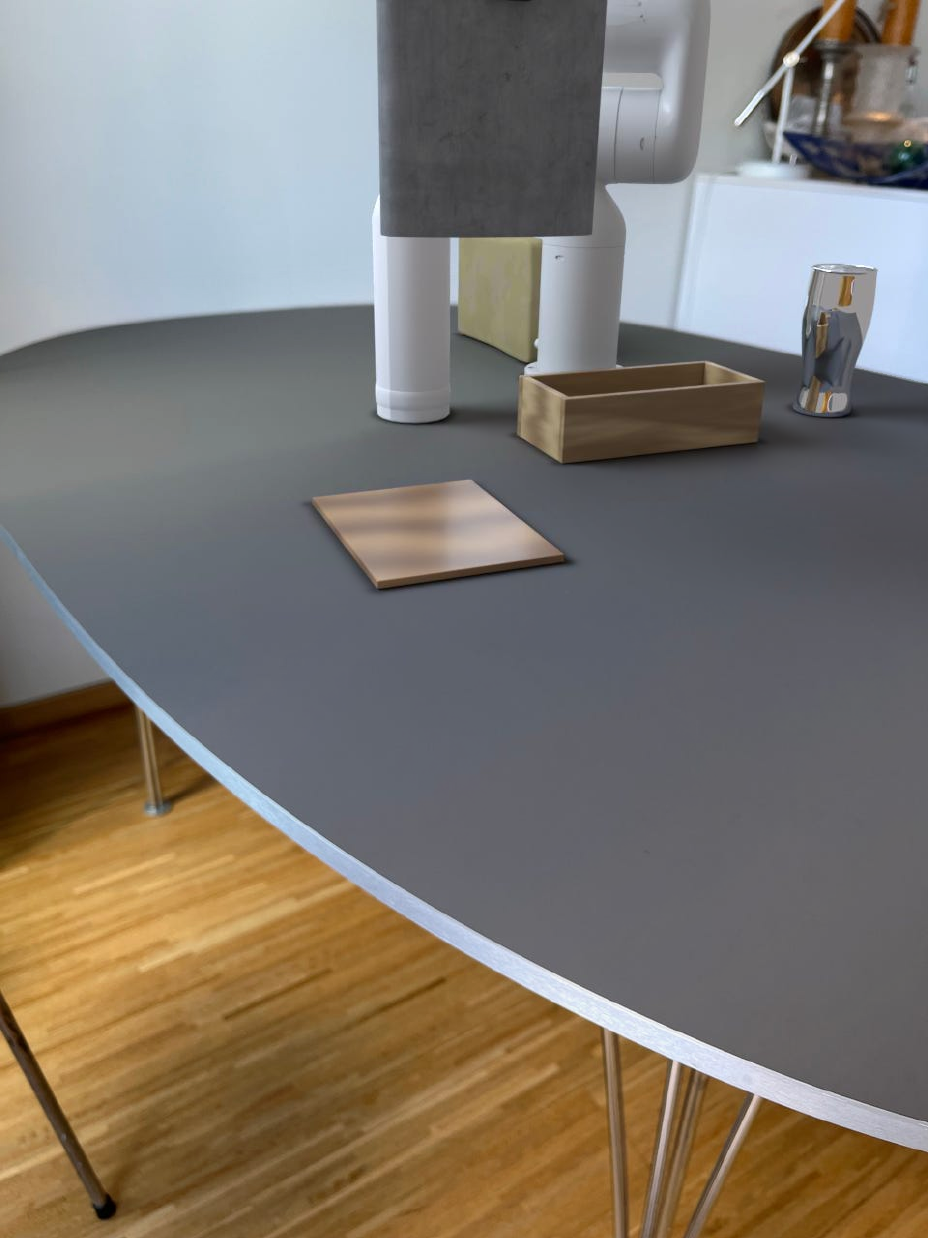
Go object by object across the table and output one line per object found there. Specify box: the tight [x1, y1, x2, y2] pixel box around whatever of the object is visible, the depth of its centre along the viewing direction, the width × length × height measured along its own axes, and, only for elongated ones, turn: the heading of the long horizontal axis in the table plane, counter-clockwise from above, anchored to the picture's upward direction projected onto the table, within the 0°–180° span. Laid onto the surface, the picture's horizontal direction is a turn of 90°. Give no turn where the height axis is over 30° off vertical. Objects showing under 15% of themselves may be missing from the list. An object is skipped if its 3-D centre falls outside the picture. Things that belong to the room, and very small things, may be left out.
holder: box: [516, 360, 767, 464], centre depth 101 cm, size 10×22×6 cm, turn 111°
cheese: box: [457, 237, 543, 364], centre depth 139 cm, size 22×10×15 cm, turn 14°
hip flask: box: [375, 0, 608, 239], centre depth 71 cm, size 16×4×20 cm, turn 104°
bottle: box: [371, 193, 452, 424], centre depth 103 cm, size 8×8×30 cm
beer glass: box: [792, 263, 879, 418], centre depth 110 cm, size 7×7×15 cm
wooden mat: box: [311, 479, 565, 590], centre depth 79 cm, size 18×14×1 cm
